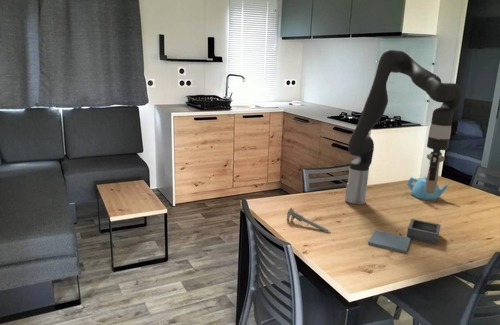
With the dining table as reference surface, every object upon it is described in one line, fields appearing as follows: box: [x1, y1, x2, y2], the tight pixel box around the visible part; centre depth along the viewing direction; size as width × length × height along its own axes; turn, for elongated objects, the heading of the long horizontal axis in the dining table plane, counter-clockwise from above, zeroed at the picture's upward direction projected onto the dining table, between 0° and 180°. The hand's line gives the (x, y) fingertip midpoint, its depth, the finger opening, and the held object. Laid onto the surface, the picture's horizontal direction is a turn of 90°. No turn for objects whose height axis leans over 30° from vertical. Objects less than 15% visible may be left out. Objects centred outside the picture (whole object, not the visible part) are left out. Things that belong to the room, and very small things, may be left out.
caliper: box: [286, 207, 332, 234], centre depth 171 cm, size 20×1×6 cm, turn 54°
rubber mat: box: [367, 229, 412, 254], centre depth 160 cm, size 14×13×1 cm
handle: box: [426, 153, 446, 194], centre depth 159 cm, size 5×6×15 cm
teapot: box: [406, 176, 449, 201], centre depth 214 cm, size 15×15×11 cm
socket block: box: [406, 218, 442, 246], centre depth 166 cm, size 11×11×4 cm
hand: (432, 178), depth 160 cm, fingers closed on handle, 4 cm apart
